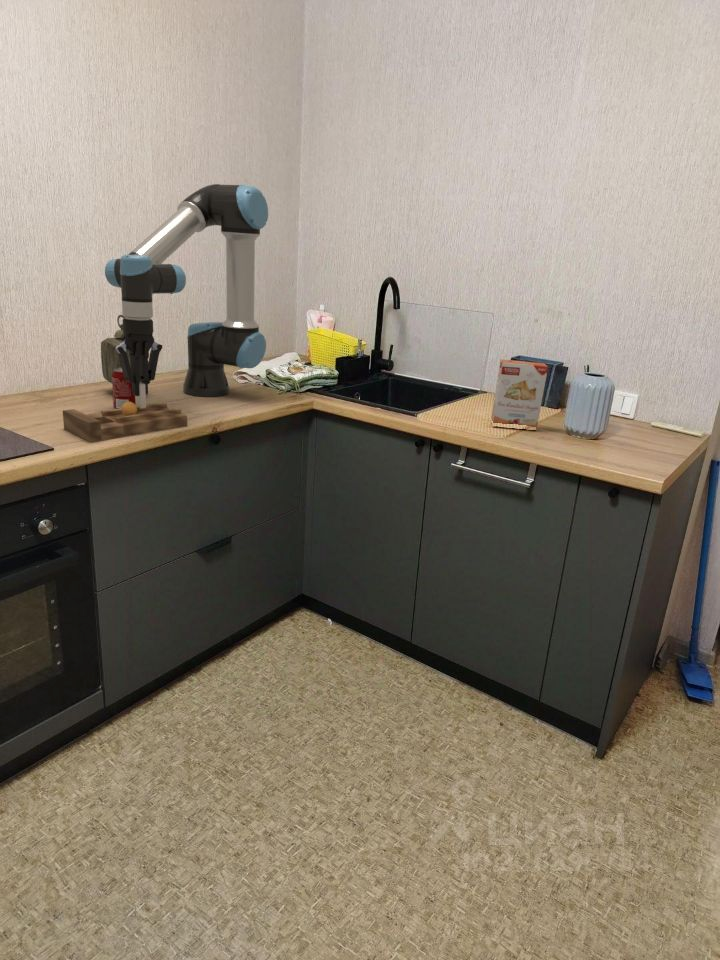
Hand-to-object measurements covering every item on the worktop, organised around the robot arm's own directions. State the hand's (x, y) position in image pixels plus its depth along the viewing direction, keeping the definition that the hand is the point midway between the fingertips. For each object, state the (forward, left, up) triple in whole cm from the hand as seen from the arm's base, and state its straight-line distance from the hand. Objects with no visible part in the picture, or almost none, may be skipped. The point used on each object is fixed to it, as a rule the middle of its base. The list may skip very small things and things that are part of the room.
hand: (140, 407), depth 176 cm
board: (+4, 0, -5) cm, 7 cm away
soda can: (-5, -17, -5) cm, 19 cm away
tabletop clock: (-14, -34, -5) cm, 37 cm away
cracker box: (-94, +62, -5) cm, 113 cm away
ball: (+3, 0, 0) cm, 3 cm away
